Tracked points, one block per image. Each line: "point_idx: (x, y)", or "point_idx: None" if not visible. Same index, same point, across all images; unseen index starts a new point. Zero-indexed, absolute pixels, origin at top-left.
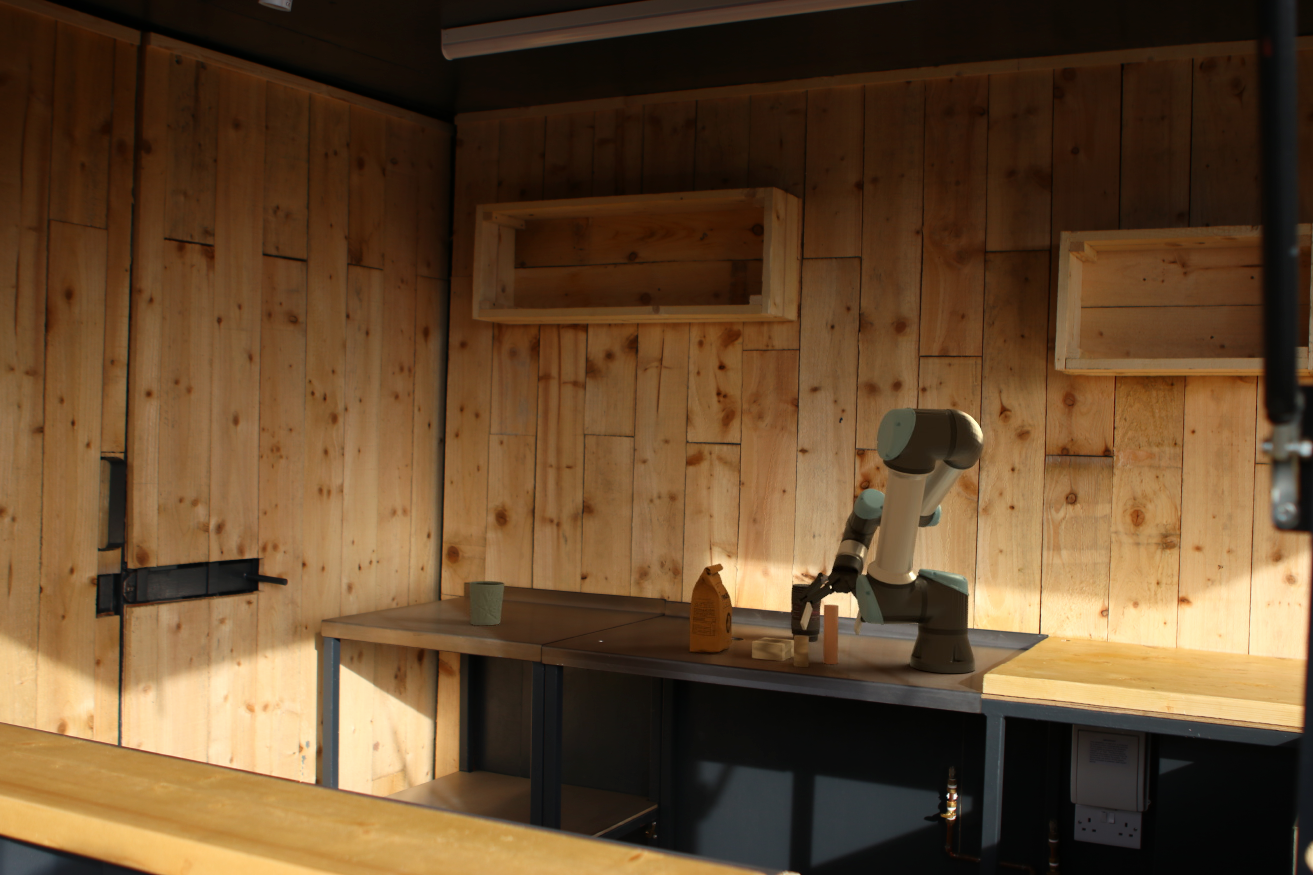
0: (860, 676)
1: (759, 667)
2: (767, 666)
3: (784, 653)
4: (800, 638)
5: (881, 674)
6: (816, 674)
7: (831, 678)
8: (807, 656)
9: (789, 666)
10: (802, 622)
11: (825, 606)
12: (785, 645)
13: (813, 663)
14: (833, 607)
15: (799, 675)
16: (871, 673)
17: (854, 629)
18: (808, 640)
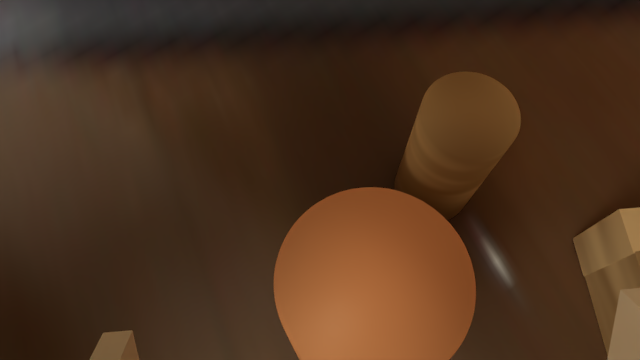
0: (93, 123)
1: (548, 47)
2: (537, 83)
3: (599, 261)
4: (449, 77)
5: (8, 222)
6: (278, 56)
7: (193, 23)
8: (401, 163)
9: None
10: (633, 292)
11: (414, 199)
12: (630, 268)
13: None
14: (307, 211)
15: (327, 4)
16: (60, 216)
17: (133, 348)
18: (418, 133)
